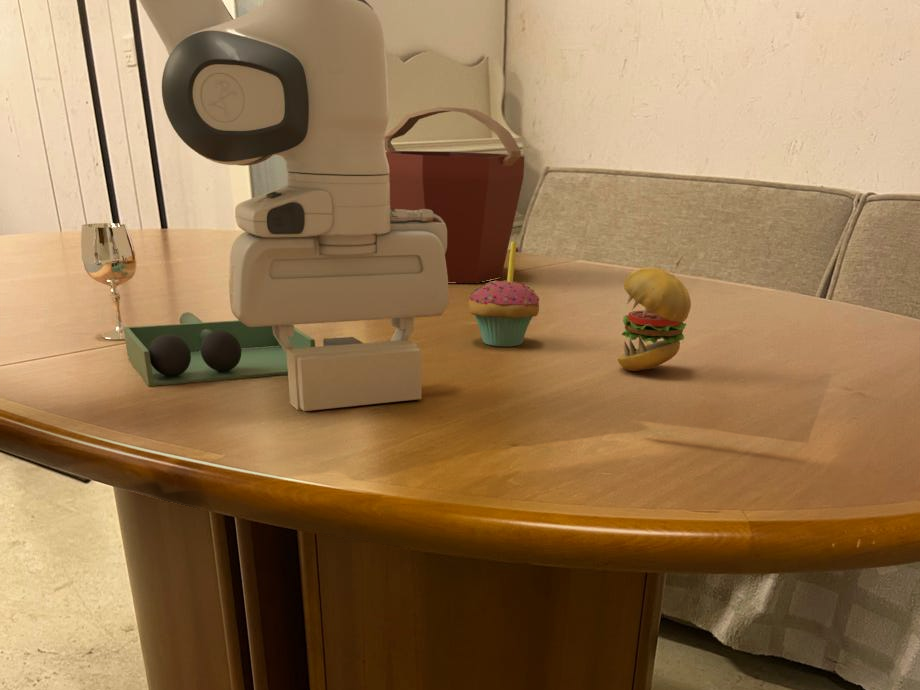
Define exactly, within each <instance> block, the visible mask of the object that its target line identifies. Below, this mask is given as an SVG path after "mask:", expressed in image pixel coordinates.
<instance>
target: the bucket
mask: <svg viewBox="0 0 920 690" xmlns="http://www.w3.org/2000/svg"><path fill="white" fill-rule="evenodd" d="M450 112H455V113H462V114H466V115H467V116H470V117H471V118H474V119H475V120H476V121H478V122H480V123H482V124H483V125H485V126H486V127H487V128H488V129H489V130H491V131H492V132H493V133H494V134H495V135H497V137H498V139H499V141H500V142H501V144H502V145H503V147H504V148H505V150H506V152H507V153H492V152H469V151H447V150H445V151H444V150H443V151H441V150H440V151H439V150H438V151H436V150H433V151H432V150H431V151H430V150H396V148H395V147H394V145H393V144H392V140H394V139H396V138H399V137H403V136H405V135H406V134H407V133H408V132H409V131H410V130H412V128H413V127H414V126H415V125H416V124H417V122H418V121H419V120H422V119H425V118H428V117H431V116H434V115H438V114H443V113H450ZM521 152H522V151H521V149H520V146H519V145H518V143H517V141H516V140H515V138H514V137H513V135H512V133H511V132H510V131H509V130H508V129H507V128H505V126H503V125H502V124H501V123H499V122H498V121H497V120H495V119H493V118H492V117H490V116H488V115H487V114H485V113H483V112H481V111H479V110H477V109H471V108H464V107H448V106H447V107H443V106H440V107H439V106H438V107H434V108H428V109H423V110H418V111H415V112H411V113H409V114H405V116H404V117H403V118H402V120H400V122H398V124H396V125H395V126H394V128H392V129H391V130H390V131H389V132H388V133H387V134H385V153H386V157H387V160H388V164H389V170H390V173H389V177H390V181H389V182H390V209H406V210H419V209H429V210H432V211H433V213H434V214H436V215H438V216H439V217H441V219H442V220H443V221H444V223H445V225H446V227H447V249H446V253H445V260H446V267H447V276H448V282H456V283H478V282H482V281H486V280H490V279H495V278H499V277H501V278H502V277H503V273H504V267H505V264H506V258H507V254H508V250H509V245H510V242H511V236H512V231H513V227H514V224H515V223H514V222H515V218H516V214H517V208H518V204H519V199H520V194H521V191H522V186H523V181H524V173H525V156H523V155H522V153H521ZM431 222H438V221H437V220H436V219H433V221H431ZM407 223H408V222H407Z"/></svg>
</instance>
